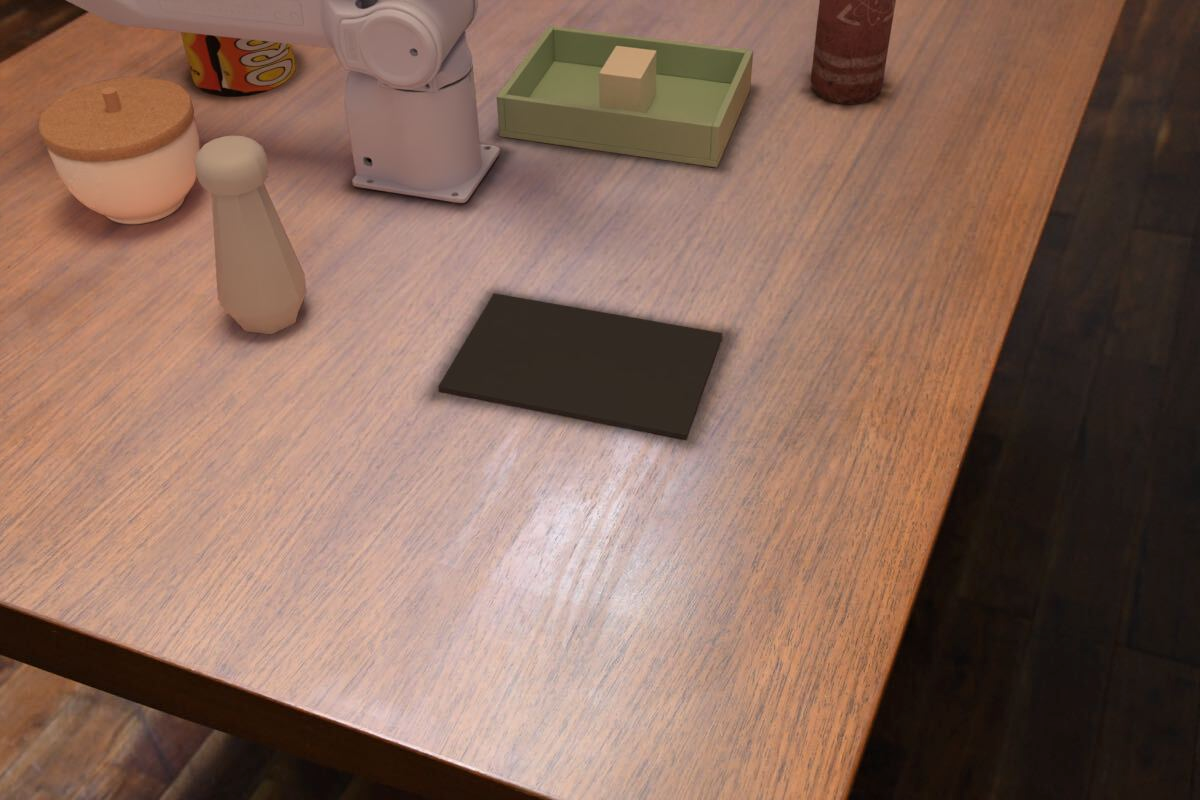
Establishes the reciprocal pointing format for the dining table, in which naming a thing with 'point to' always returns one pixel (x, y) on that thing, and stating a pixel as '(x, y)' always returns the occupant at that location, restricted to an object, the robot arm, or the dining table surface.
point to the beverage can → (237, 64)
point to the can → (851, 49)
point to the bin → (666, 131)
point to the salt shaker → (249, 237)
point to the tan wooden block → (628, 79)
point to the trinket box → (124, 146)
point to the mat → (585, 365)
